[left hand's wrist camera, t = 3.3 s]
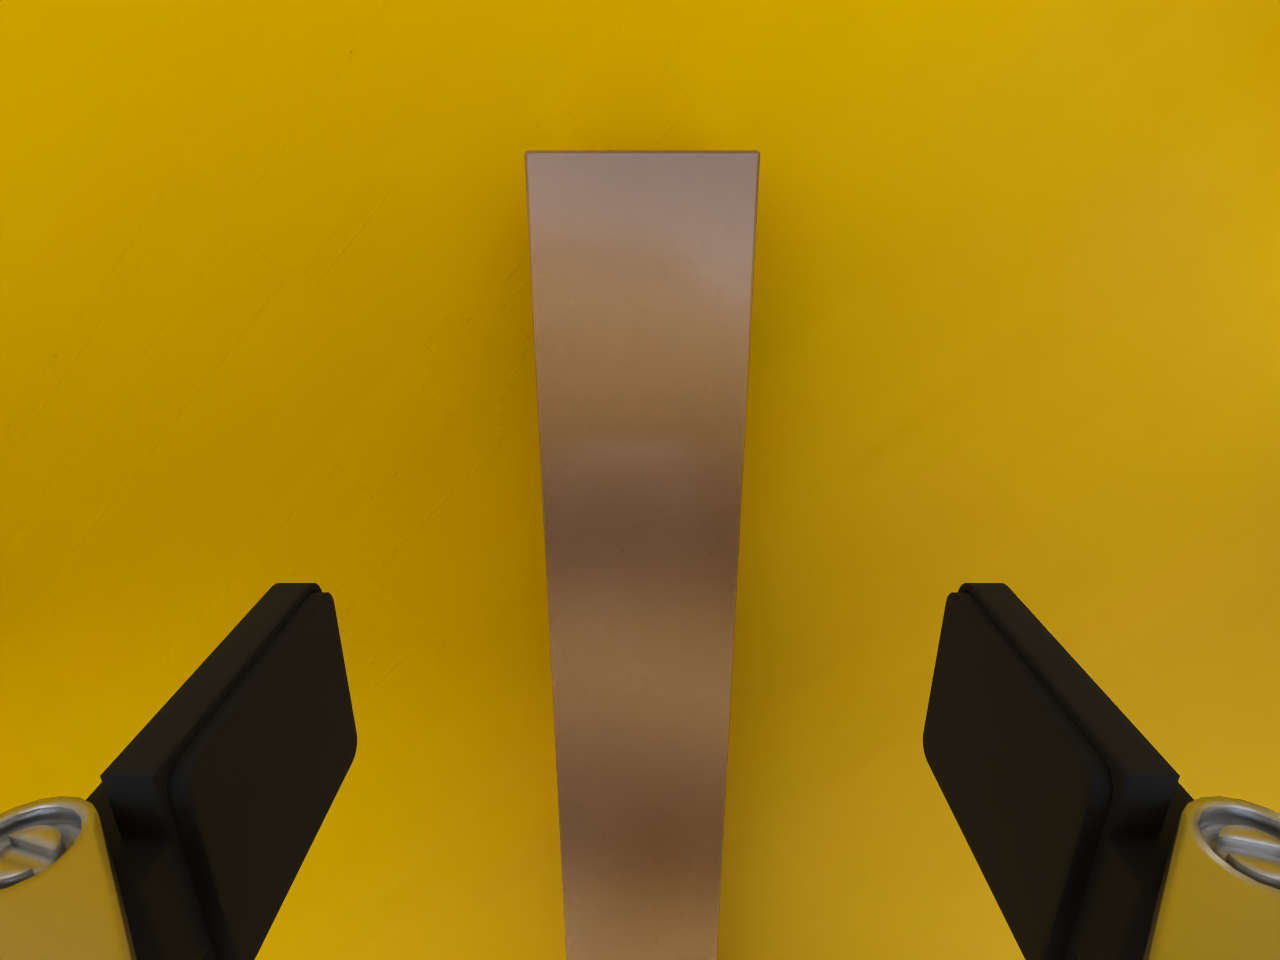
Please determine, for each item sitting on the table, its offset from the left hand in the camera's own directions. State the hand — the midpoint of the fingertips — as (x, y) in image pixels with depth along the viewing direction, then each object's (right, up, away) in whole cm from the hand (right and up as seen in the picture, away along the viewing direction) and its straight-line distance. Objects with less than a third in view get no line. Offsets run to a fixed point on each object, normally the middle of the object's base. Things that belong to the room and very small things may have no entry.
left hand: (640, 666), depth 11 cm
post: (0, -14, +20) cm, 25 cm away
